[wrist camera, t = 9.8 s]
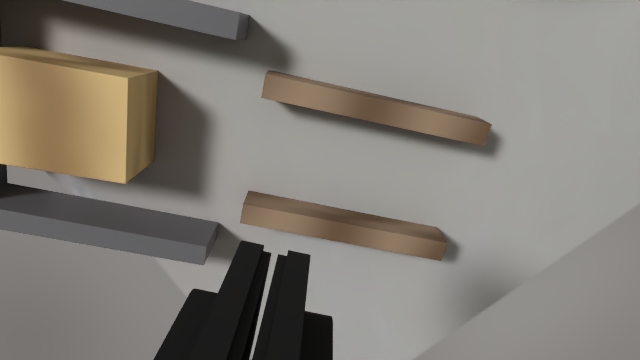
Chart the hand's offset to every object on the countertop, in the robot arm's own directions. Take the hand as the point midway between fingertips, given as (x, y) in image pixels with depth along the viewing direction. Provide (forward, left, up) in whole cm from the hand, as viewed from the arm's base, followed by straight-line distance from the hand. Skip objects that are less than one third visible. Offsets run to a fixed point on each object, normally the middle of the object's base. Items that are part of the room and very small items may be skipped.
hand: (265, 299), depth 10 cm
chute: (-4, 0, -15) cm, 15 cm away
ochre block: (+11, 0, -15) cm, 19 cm away
